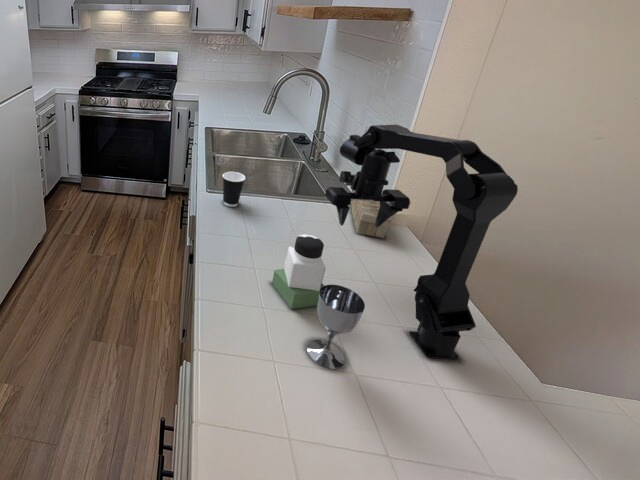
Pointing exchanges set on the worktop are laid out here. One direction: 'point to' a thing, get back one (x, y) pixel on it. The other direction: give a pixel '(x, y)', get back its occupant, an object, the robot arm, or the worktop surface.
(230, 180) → the dixie cup
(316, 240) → the medicine bottle
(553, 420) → the worktop surface
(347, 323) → the wine glass
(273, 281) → the green block
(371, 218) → the block tower
